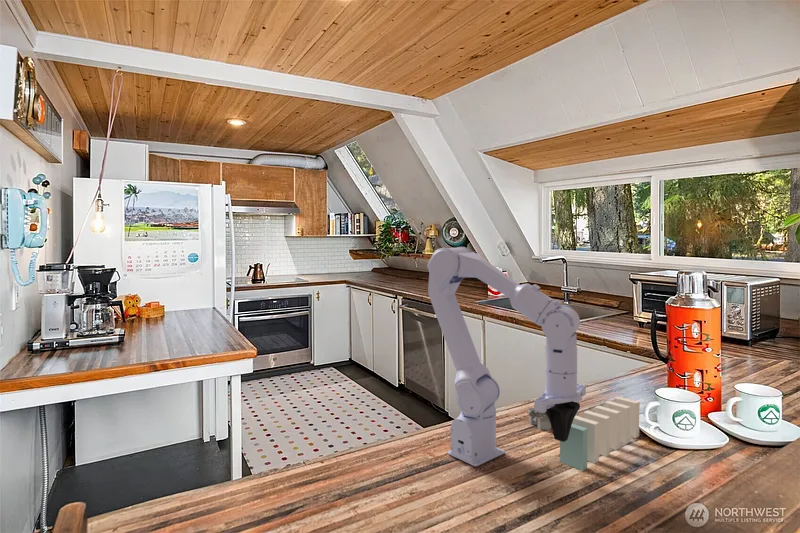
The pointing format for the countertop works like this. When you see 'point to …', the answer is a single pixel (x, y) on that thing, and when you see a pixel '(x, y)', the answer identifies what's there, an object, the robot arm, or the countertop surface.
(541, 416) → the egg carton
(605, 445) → the domino
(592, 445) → the domino
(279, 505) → the countertop surface
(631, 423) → the domino
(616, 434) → the domino
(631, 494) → the countertop surface
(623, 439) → the domino
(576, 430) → the domino
